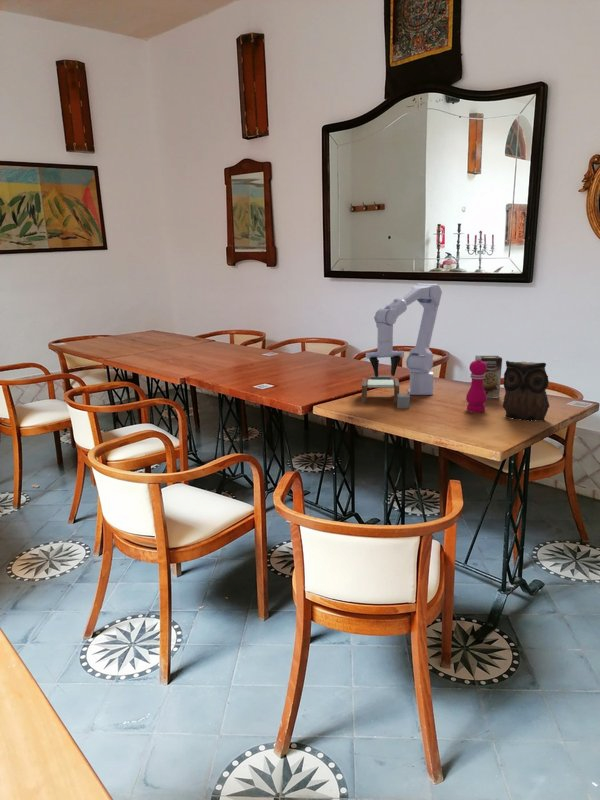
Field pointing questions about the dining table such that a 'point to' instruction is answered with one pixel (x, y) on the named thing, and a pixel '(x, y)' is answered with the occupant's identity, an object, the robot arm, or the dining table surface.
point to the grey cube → (403, 401)
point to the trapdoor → (381, 381)
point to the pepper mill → (477, 386)
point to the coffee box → (492, 375)
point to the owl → (525, 390)
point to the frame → (365, 386)
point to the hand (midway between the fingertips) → (384, 375)
